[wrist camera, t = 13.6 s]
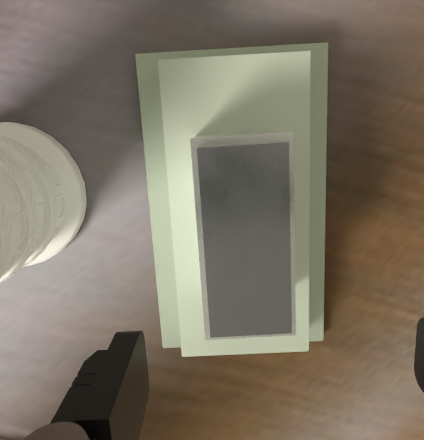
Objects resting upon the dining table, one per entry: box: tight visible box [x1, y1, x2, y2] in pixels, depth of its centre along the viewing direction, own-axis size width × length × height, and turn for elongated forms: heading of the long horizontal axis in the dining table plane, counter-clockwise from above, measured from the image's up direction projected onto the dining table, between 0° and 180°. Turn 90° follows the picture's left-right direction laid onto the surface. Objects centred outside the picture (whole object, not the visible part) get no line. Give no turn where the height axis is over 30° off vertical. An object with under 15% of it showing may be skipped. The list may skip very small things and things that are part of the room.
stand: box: [135, 42, 328, 357], centre depth 30 cm, size 14×24×4 cm, turn 3°
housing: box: [190, 131, 296, 340], centre depth 24 cm, size 12×6×7 cm, turn 4°
